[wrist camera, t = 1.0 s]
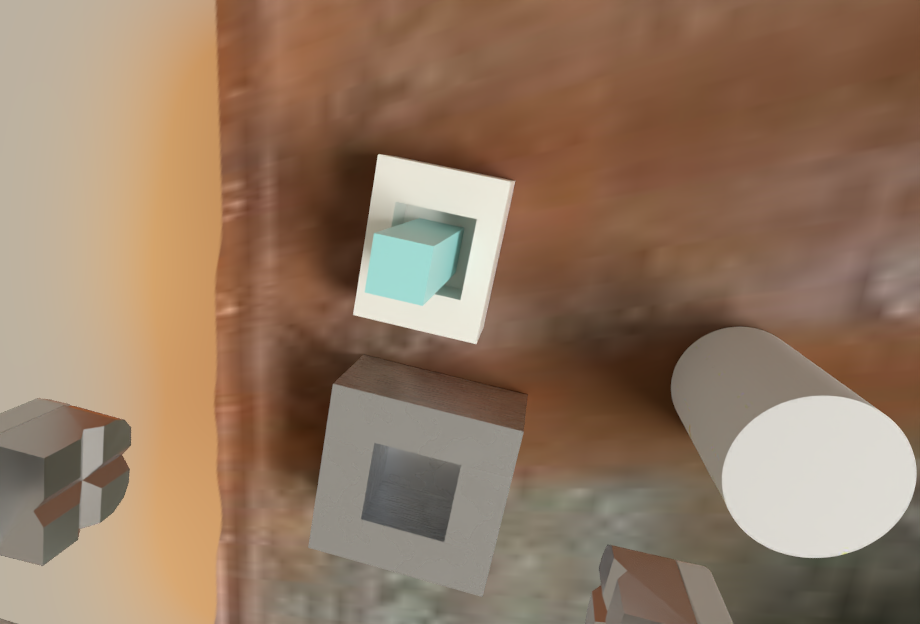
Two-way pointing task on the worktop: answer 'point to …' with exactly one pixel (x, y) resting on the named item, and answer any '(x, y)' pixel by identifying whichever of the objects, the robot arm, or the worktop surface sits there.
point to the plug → (413, 260)
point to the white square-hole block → (450, 202)
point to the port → (416, 472)
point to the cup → (791, 445)
